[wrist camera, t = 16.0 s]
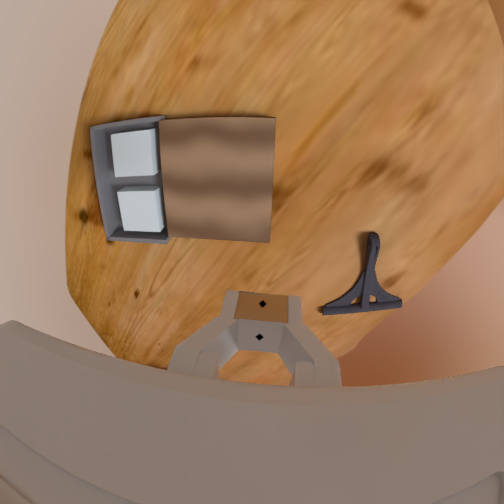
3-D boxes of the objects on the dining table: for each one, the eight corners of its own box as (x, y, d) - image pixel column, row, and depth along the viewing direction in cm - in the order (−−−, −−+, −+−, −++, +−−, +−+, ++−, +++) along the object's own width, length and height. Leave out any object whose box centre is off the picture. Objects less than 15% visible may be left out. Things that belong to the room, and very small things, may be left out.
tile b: (125, 186, 36) (117, 191, 34) (161, 185, 35) (154, 190, 33) (131, 223, 39) (124, 230, 37) (166, 224, 38) (160, 232, 36)
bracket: (413, 228, 36) (420, 237, 34) (398, 303, 43) (402, 314, 41) (323, 232, 38) (326, 241, 36) (321, 310, 46) (323, 321, 43)
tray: (103, 123, 32) (89, 127, 28) (166, 115, 31) (155, 116, 28) (118, 229, 40) (107, 240, 37) (174, 232, 40) (166, 243, 37)
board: (166, 119, 31) (158, 120, 29) (275, 117, 30) (275, 118, 28) (174, 229, 39) (168, 236, 37) (270, 234, 38) (269, 242, 36)
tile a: (119, 132, 32) (110, 134, 30) (157, 127, 31) (150, 129, 29) (123, 172, 35) (115, 177, 33) (160, 170, 34) (153, 175, 32)
